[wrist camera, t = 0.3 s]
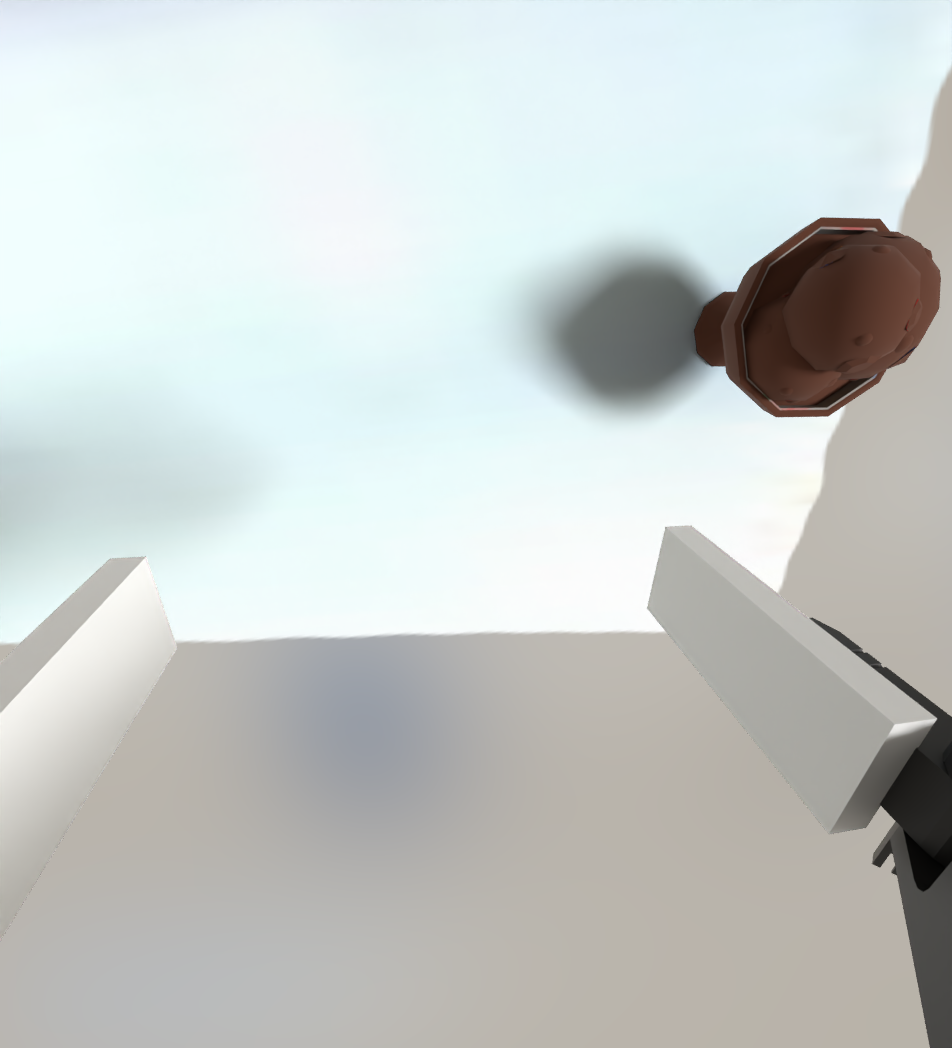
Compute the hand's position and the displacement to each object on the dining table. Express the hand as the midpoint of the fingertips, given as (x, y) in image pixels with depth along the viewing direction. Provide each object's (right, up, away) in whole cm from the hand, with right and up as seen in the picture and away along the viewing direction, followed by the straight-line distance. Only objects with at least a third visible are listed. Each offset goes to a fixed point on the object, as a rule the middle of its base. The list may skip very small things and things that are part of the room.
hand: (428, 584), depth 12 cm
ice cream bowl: (+21, +17, +24) cm, 36 cm away
